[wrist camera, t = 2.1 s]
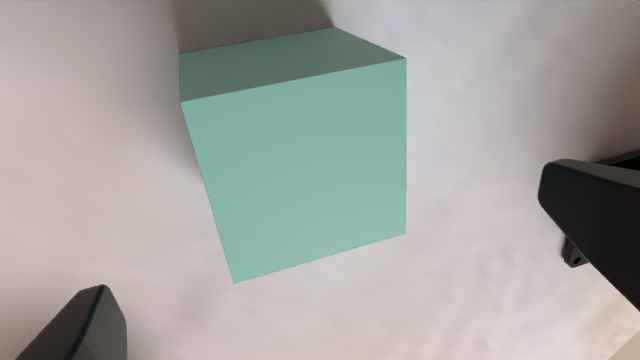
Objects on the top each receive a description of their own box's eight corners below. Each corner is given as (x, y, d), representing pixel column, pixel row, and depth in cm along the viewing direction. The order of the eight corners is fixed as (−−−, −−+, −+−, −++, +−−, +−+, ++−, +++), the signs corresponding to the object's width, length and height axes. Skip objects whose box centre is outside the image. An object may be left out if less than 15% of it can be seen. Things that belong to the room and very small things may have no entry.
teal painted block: (334, 26, 13) (406, 58, 9) (345, 160, 16) (405, 233, 12) (178, 53, 12) (180, 102, 8) (217, 191, 15) (233, 283, 11)
